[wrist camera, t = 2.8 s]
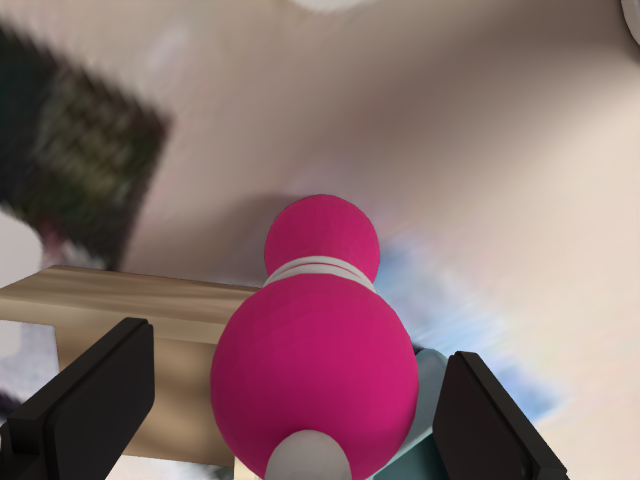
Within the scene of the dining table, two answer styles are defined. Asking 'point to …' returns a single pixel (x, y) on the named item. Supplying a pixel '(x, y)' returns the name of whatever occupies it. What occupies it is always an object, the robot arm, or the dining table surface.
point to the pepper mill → (316, 354)
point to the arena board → (167, 389)
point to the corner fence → (123, 308)
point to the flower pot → (421, 428)
